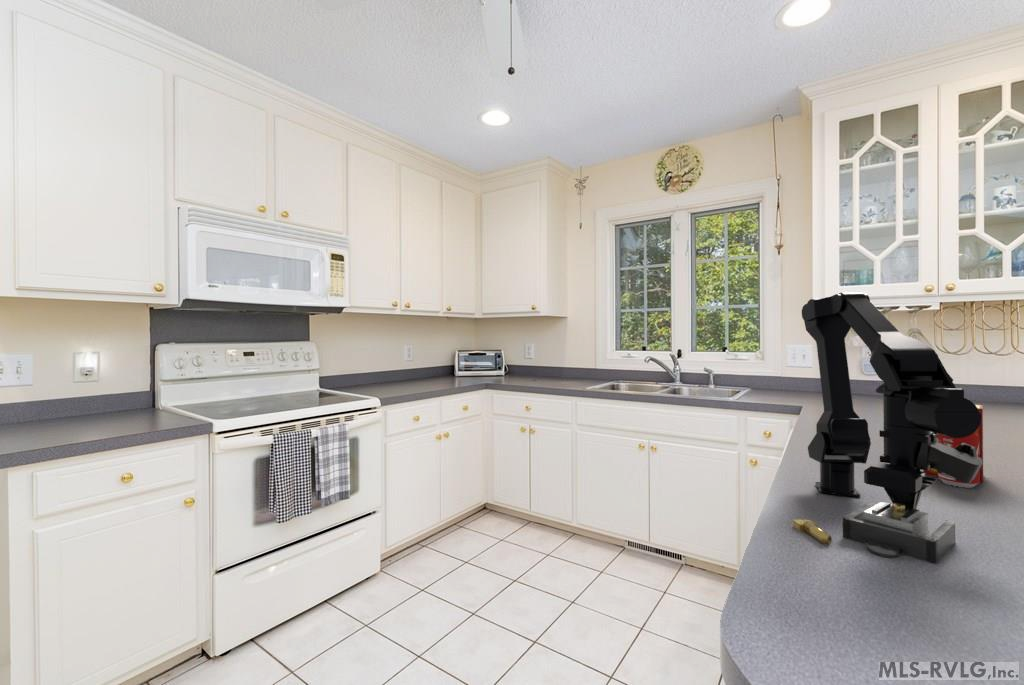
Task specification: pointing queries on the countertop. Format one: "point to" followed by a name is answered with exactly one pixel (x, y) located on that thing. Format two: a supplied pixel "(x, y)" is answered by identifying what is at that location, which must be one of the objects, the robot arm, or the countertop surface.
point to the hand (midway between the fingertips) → (907, 522)
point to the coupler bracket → (898, 538)
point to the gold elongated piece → (812, 530)
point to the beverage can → (954, 442)
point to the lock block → (898, 518)
